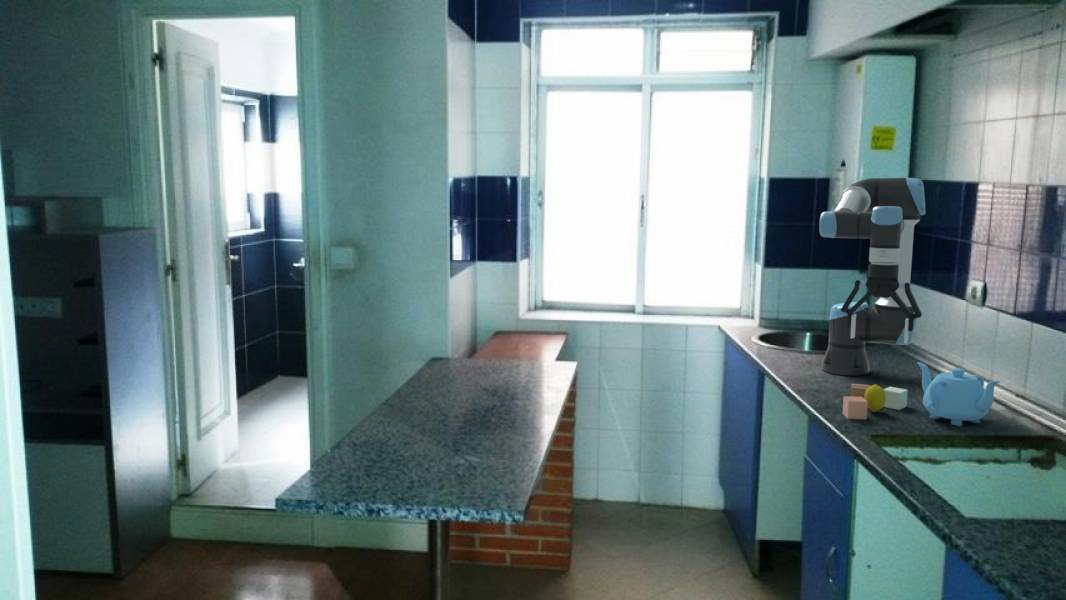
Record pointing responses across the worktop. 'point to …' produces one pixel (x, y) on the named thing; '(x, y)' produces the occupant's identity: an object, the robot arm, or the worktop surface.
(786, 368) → the worktop surface
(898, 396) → the sage cube
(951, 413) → the teapot
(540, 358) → the worktop surface
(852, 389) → the walnut cube
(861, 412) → the terracotta cube
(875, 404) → the lemon
